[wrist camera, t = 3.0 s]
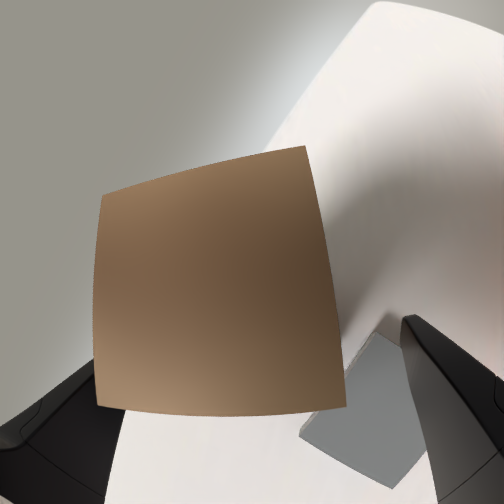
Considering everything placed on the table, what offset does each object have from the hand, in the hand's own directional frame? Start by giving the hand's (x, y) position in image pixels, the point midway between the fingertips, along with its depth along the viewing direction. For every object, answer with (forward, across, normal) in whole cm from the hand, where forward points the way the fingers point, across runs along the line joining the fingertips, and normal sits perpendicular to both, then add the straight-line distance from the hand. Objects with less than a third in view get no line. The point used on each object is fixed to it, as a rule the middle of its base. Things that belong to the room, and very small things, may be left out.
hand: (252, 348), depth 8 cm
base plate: (+3, -5, +10) cm, 11 cm away
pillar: (+7, 0, +6) cm, 9 cm away
